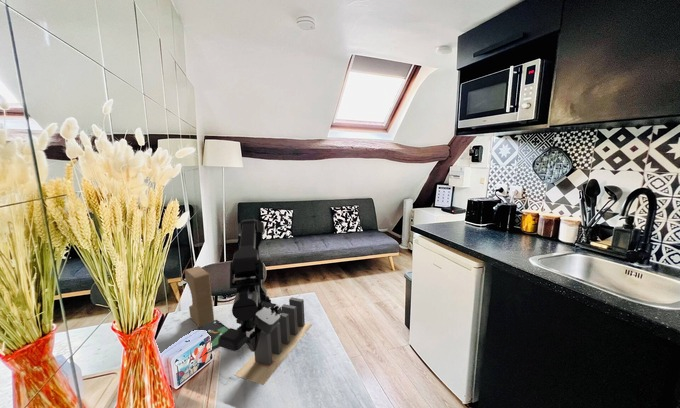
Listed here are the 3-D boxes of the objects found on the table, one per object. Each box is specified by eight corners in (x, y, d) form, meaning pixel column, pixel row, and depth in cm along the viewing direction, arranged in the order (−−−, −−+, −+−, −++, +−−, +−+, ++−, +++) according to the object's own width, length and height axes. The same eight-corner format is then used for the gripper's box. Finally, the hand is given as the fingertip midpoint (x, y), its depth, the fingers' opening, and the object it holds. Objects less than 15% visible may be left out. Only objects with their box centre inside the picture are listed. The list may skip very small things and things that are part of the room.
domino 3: (302, 327, 100) (301, 301, 98) (290, 324, 102) (289, 299, 100) (304, 324, 102) (303, 299, 100) (292, 322, 103) (291, 297, 102)
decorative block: (190, 317, 111) (184, 269, 107) (205, 311, 114) (199, 265, 111) (198, 329, 103) (192, 278, 99) (214, 322, 106) (209, 273, 103)
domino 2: (279, 355, 86) (277, 325, 85) (265, 351, 88) (263, 322, 87) (281, 351, 88) (280, 322, 86) (268, 348, 90) (266, 319, 88)
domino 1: (269, 366, 82) (267, 335, 80) (255, 362, 84) (252, 331, 82) (272, 362, 83) (270, 332, 82) (258, 358, 85) (256, 328, 83)
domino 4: (295, 335, 96) (294, 308, 94) (283, 332, 97) (281, 306, 96) (297, 333, 97) (296, 306, 95) (285, 330, 99) (283, 304, 97)
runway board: (234, 378, 79) (234, 374, 79) (289, 322, 106) (288, 319, 105) (263, 388, 75) (263, 384, 75) (312, 327, 102) (312, 324, 102)
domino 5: (287, 344, 91) (285, 316, 89) (274, 341, 93) (272, 314, 91) (290, 341, 92) (288, 314, 91) (277, 338, 94) (275, 311, 93)
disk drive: (188, 339, 98) (208, 357, 88) (187, 332, 97) (207, 349, 88) (217, 325, 106) (238, 340, 96) (216, 318, 105) (237, 333, 96)
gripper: (250, 325, 65) (255, 383, 67) (292, 289, 82) (295, 337, 84) (213, 316, 69) (220, 371, 71) (261, 283, 86) (264, 329, 88)
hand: (253, 350), depth 79 cm, fingers closed
